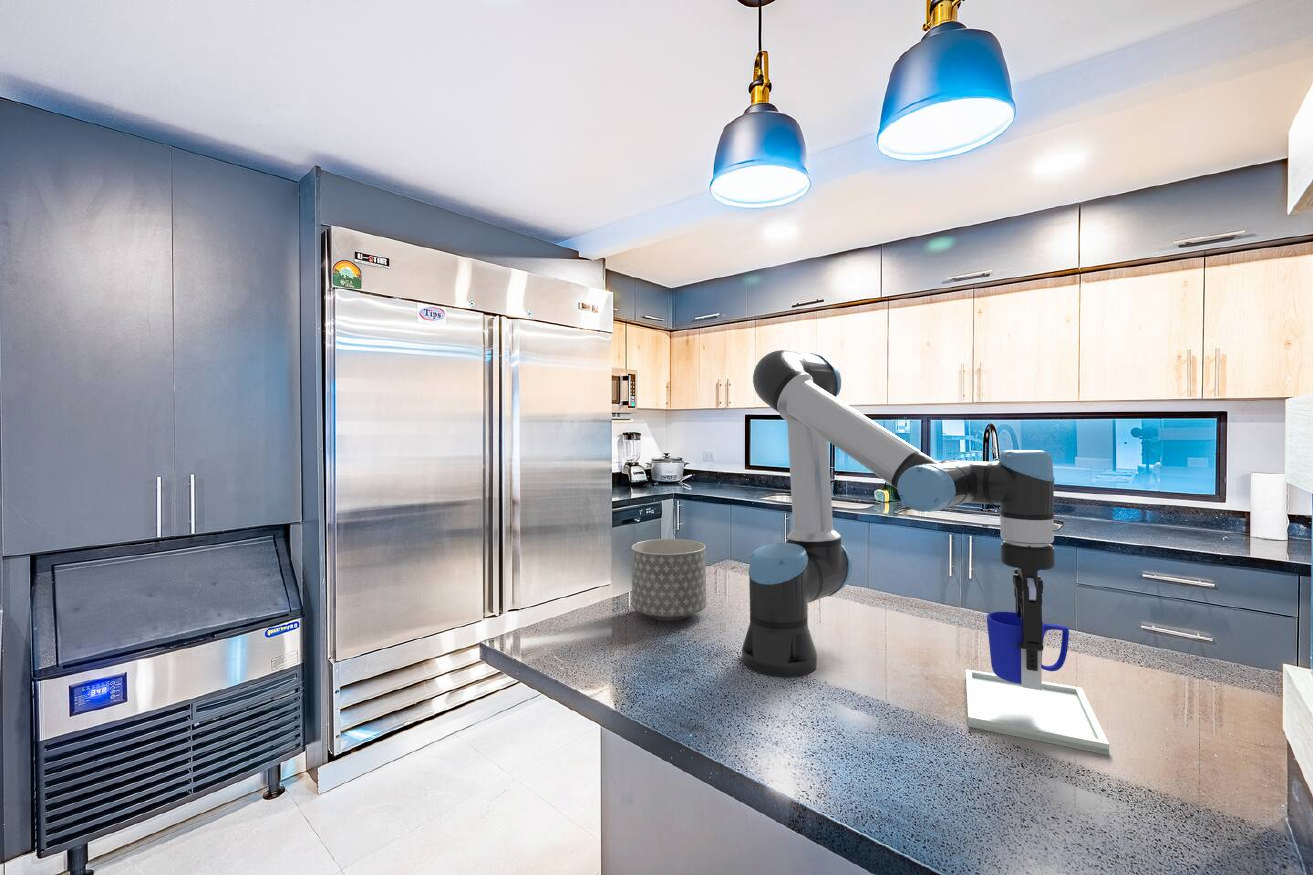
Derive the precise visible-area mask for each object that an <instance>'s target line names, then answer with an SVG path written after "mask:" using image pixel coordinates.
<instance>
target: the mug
mask: <svg viewBox="0 0 1313 875" xmlns="http://www.w3.org/2000/svg"><path fill="white" fill-rule="evenodd" d="M986 623H987V635H988V645H989V654H990V664H991V668H992V672H993V674H996V675H997V676H998V677H999V678H1001V679H1003V680H1006V681H1009V682H1013V683H1018V684H1021V648H1017V644H1022V624H1021V617H1019V618H1017V613H1015V612H1014V611H993V612H989V613H987V615H986ZM1050 630H1053V631H1054V630H1057V631H1062V635H1061V645H1060V651H1059V655H1058V658H1057V661H1056V662H1055V663H1054V664H1052V665H1044V664H1043V661H1042V660H1043V651H1041V670H1044V671H1047V672H1057V671H1059V670H1060V669H1061V668H1063V666H1064V663H1065V662H1066V659H1067V653H1068V647H1069V639H1070V638H1069V637H1070V630H1069V628H1068V627H1067V626H1064V625H1059V624H1051V623H1044V622H1043V621H1042V637H1043V640H1044V638H1045V634H1046V632H1048V631H1050ZM1031 642H1032V641H1031Z"/></svg>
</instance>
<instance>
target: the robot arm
mask: <svg viewBox="0 0 1313 875" xmlns="http://www.w3.org/2000/svg"><path fill="white" fill-rule="evenodd" d="M752 383H753V387H754V388H753V389H754V390H755V393H756V394H757V396H758V397H759V399H761V401H763V402H764V403H765V404H767V406H769V407H770V408H771V409H772V410H774V411H776V412H777V413H779V416H780V417H781V418H782V419H783V420H784V421H785V422H786V424H787V425H786V426H787V439H788V440H787V441H788V459H789V475H790V476H789V478H790V495H791V509H792V510H791V512H792V514H791V515H792V529H791V531H790V532H789V533H788V535H786V540H787V541H786V542H777V543H774V544H772V543H770V544H765V545H762V546H760V547H757V548H755V549H754V550H753V551H752V552H751V554H750V557H749V567H748V576H749V577H748V578H749V582H748V584H749V586H748V587H749V625H748V627H747V631H746V635H745V638H744V641H743V644H742V647H741V660H742V663H743V664H744V666H746V667H747V668H749V669H750V670H752V671H754V672H757V673H760V674H762V675H768V676H774V677H783V678H784V677H788V678H789V677H797V676H803V675H804V676H805V675H807V674H810V673H811V672H813V671H814V670H816V668H817V667H818V654H817V649H816V646H815V644H814V641H813V637H812V635H811V631H810V629H809V625H808V623H809V622H808V620H809V619H808V618H809V616H808V614H809V613H808V612H809V611H808V610H809V609H808V608H809V607H808V605H809V604H810V603H812V602H815V601H817V600H820V599H823V598H827V597H830V596H833V595H835V594H837V593H838V592H839V591H841V590H842V589H843V588H845V587H846V586H847V584H848V583H849V582H850V581H851V576H852V574H853V562H852V557H851V555H850V553H849V551H847V550H846V547H845V546H844V545H843V544H842V536H841V534H840V532H838V531H836V529H834V520H833V503H832V486H831V470H830V468H831V467H830V453H829V452H830V451H829V443H831V444H832V445H833V446H834V447H836V448H837V449H839V450H840V451H841V452H843V453H845V454H846V455H848V456H849V457H850V458H852V459H853V460H854V461H856V462H857V463H859V464H860V465H861V466H863V467H864V468H866V469H867V470H869V471H870V472H872V473H873V474H875V475H876V476H877V477H879V478H881V480H883V481H885V482H886V483H888V485H891V486H892V487H893V488H894V489H896V490H897V493H898V495H899V498H900V500H901V502H902V503H903V504H904V505H905V506H906V507H907V508H908V509H911V510H913V511H916V512H920V513H921V512H923V513H924V512H926V513H927V512H928V513H929V512H930V513H931V512H938V511H942V510H944V509H947V508H950V507H955V506H957V505H958V506H959V505H963V504H981V505H982V504H983V505H984V504H985V505H993V506H996V505H998V506H999V508H1000V514H999V517H1000V518H999V520H1000V521H999V522H1000V525H999V526H1000V528H999V529H1000V530H999V531H1000V534H999V535H1000V538H1001V539H1002V540H1003V541H1002V542H1001V543H1000V561H1001V563H1002V564H1003V565H1005V566H1007V567H1010V568H1014V571H1013V573H1012V583H1013V586H1014V587H1013V588H1014V589H1013V593H1014V594H1013V595H1014V598H1015V600H1014V602H1015V604H1014V608H1015V613H1017V618H1019V617H1021V624H1022V644H1017V648H1021V686H1022V687H1023V688H1029V689H1035V690H1041V691H1042V679H1043V678H1042V676H1043V675H1042V668H1041V651H1042V652H1043V651H1044V639H1043V637H1042V622H1043V611H1042V610H1043V608H1042V606H1043V594H1044V591H1043V589H1044V580H1043V579H1042V578H1041V576H1040V575H1039V574H1038V572H1039V571H1041V570H1043V571H1047V570H1052V569H1053V568H1054V567H1055V565H1056V564H1055V557H1056V556H1055V547H1054V546H1053V545H1052V543H1053V542H1054V541H1055V532H1054V531H1053V530H1055V531H1056V530H1059V524H1058V523H1054V522H1055V520H1054V518H1055V517H1054V516H1055V515H1054V513H1055V512H1054V511H1055V510H1054V504H1055V503H1054V500H1055V499H1054V498H1055V497H1054V496H1055V494H1054V493H1055V480H1056V479H1055V476H1054V464H1053V457H1052V454H1051V453H1049V452H1048V451H1046V450H1039V449H1038V450H1036V449H1035V450H1034V449H1033V450H1032V449H1031V450H1030V449H1028V450H1027V449H1024V450H1022V449H1014V450H1013V449H1012V450H1011V449H1009V450H1003V451H1001V452H1000V453H999V454H1000V455H999V459H998V460H995V461H993V460H992V461H982V460H981V461H980V460H979V461H978V460H957V459H956V460H955V459H940V460H939V459H938V460H935V459H933V458H932V457H930V456H928V455H927V454H926V453H923V452H921V450H919V449H918V448H916V447H915V446H914V445H911V444H909V443H908V442H906V441H905V440H904V439H902V438H900V437H899V436H897V435H895V434H894V433H892V432H891V431H889V430H888V429H886V428H884V427H883V426H881V425H880V424H878V423H877V422H876V421H875V420H872V419H871V418H869V417H867V416H866V415H864V414H863V413H861V412H860V411H858V410H856V408H853V407H851V406H850V405H849V404H846V402H844V401H842V400H840V399H839V398H837V396H839V394H840V393H841V389H842V377H841V373H840V370H839V369H838V367H837V366H836V364H835V363H834V362H833V361H832V360H831V359H829V358H827V357H826V356H823V355H819V354H817V353H812V352H810V353H809V352H798V351H791V350H782V349H781V350H775V351H771V352H770V353H768V354H767V353H766V354H765V356H763V357H762V358H761V359H760V360H759V361H758V363H757V364H756V366H755V368H754V370H753V376H752ZM1031 641H1032V642H1031Z"/></svg>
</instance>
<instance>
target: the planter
mask: <svg viewBox="0 0 1313 875" xmlns="http://www.w3.org/2000/svg"><path fill="white" fill-rule="evenodd" d="M706 549H707V547H706V545H705V544H704V543H702V542H699V541H697V540H691V539H684V538H682V539H680V538H658V539H649V540H642V541H639V542H635V543H634V544H632V546H631V589H632V590H631V591H632V592H631V598H632V600H631V601H632V602H631V603H632V608H633V609H634V610H635V611H636V612H638V613H641V614H645V615H646V616H648V617H650V618H652V619H654V620H658V621H661V620H662V622H676V621H677V620H678V621H681V620H683V619H686V618H689V617H691V616H693V615H694V614H697V613H700V612H702V611H703V610H704V609H705V608H706V607H707V569H706V568H707V563H706V562H707V560H706V552H707V551H706Z"/></svg>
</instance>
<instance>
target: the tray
mask: <svg viewBox="0 0 1313 875" xmlns="http://www.w3.org/2000/svg"><path fill="white" fill-rule="evenodd" d="M965 689H966V707H967V710H966V711H967V727H968V728H971V729H978V730H982V731H988V732H993V733H998V734H1003V735H1008V736H1011V737H1012V736H1013V737H1018V738H1022V739H1026V740H1027V739H1028V740H1031V741H1032V740H1033V741H1038V742H1042V743H1046V744H1053V745H1057V746H1061V747H1062V746H1063V747H1067V748H1073V749H1078V750H1083V751H1087V752H1091V753H1097V754H1103V755H1106V756H1109V755H1110V743H1109V741H1108V739H1107V737H1106V735H1105V733H1104V731H1103V729H1102V727H1101V724H1100V722H1099V720H1098V719H1097V716H1096V715H1095V714H1096V713H1094V710H1093V708H1092V706H1091V704H1090V702H1089V700H1088V698H1087V696H1086V694H1085V692H1084V689H1083V687H1080V686H1073V685H1066V684H1062V683H1061V684H1060V683H1055V682H1054V683H1053V682H1049V681H1044V680H1043V681H1042V691H1041V690H1035V689H1029V688H1023V687H1022V686H1021V684H1018V683H1013V682H1009V681H1006V680H1003V679H1001V678H999V677H998V676H997V675H996V674H995V673H994V672H993V673H991V672H986V671H979V670H975V669H974V670H973V669H967V668H966V669H965Z"/></svg>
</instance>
